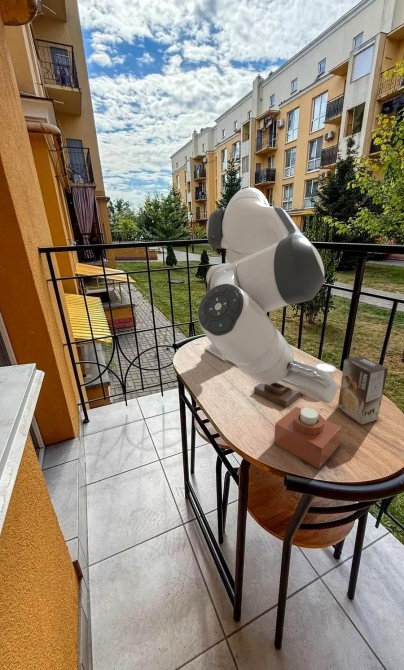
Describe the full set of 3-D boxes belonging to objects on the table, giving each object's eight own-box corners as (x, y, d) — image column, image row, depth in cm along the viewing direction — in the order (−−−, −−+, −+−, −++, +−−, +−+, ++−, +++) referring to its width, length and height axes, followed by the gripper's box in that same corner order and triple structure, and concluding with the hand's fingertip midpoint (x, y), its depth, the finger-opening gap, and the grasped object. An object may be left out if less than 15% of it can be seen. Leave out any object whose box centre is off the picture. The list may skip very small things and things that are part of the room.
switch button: (270, 384, 91) (270, 379, 91) (276, 380, 94) (277, 375, 93) (280, 388, 89) (280, 383, 88) (286, 384, 91) (286, 379, 91)
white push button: (296, 419, 68) (297, 412, 67) (305, 412, 71) (305, 405, 70) (312, 427, 65) (313, 420, 65) (320, 419, 68) (321, 412, 67)
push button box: (273, 442, 72) (275, 416, 69) (294, 424, 78) (296, 400, 75) (319, 469, 63) (323, 441, 61) (338, 446, 70) (342, 420, 67)
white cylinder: (335, 391, 92) (338, 372, 90) (313, 389, 94) (316, 371, 91) (331, 380, 99) (333, 363, 96) (310, 379, 100) (312, 362, 98)
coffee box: (379, 419, 78) (390, 368, 73) (361, 425, 76) (371, 373, 71) (352, 402, 86) (360, 355, 81) (336, 406, 85) (343, 358, 79)
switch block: (254, 392, 94) (254, 382, 92) (271, 381, 100) (271, 371, 98) (285, 407, 85) (286, 396, 84) (302, 394, 91) (303, 383, 90)
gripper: (333, 358, 41) (350, 390, 51) (230, 328, 55) (258, 357, 65) (315, 396, 40) (336, 421, 49) (214, 355, 54) (246, 381, 64)
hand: (291, 384), depth 57 cm, fingers open, 6 cm apart
